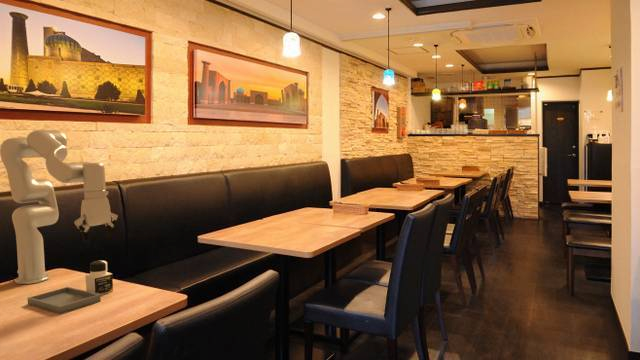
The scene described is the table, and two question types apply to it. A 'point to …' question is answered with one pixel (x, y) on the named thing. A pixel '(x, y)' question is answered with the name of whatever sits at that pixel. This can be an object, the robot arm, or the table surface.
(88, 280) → the medicine bottle
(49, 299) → the gray tray
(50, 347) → the table surface
